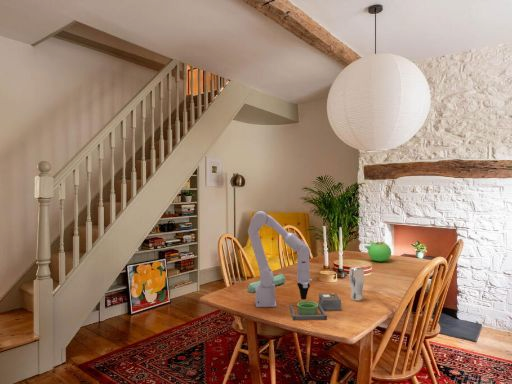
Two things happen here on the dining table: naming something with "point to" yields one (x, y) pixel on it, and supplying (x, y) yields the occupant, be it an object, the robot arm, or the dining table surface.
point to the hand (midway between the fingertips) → (303, 299)
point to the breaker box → (330, 301)
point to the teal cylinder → (277, 280)
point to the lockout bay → (309, 317)
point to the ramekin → (307, 308)
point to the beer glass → (356, 283)
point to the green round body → (379, 251)
